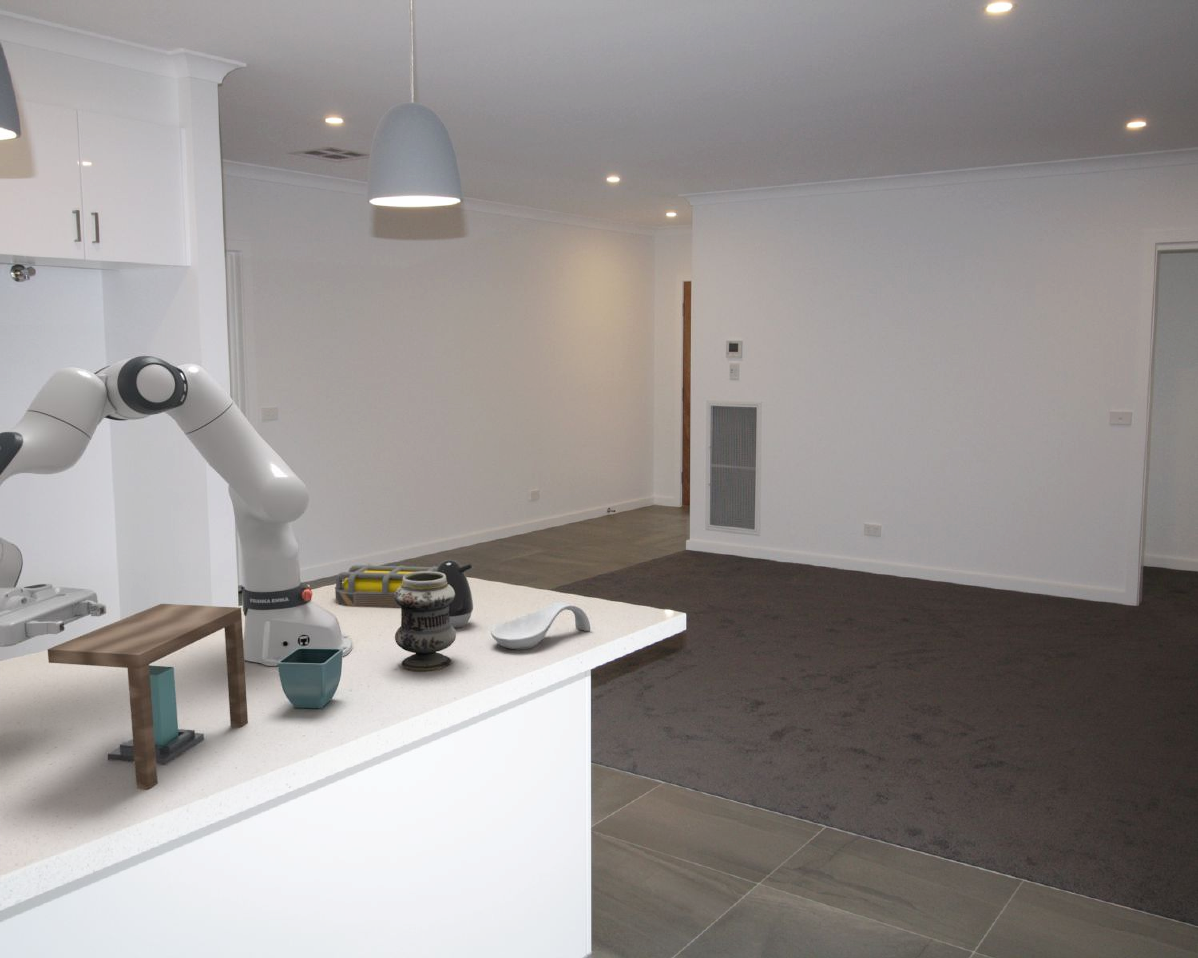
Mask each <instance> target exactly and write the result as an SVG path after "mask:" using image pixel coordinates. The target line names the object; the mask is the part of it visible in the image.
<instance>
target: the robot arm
mask: <svg viewBox="0 0 1198 958" xmlns="http://www.w3.org/2000/svg"><path fill="white" fill-rule="evenodd" d="M161 413H165V414H167V415H168V416H170V417H171V419H173V420H174V421H175V423H176V424H177V426H178V427H179V428H180V429H181V431H182V432H183V433H184V434H185V437H187V438H188V440H189V441H190V442H191V443H192V445H193V446H194V447H195V449H196V450H197V451H198V453H199V454H200V456H202V458H203V459H204V460H205V461H206V462H207V464H208V465H209V467H211V468H212V469H213V470H214V471H215V472H216V473H217V474H218V475H219V476H220V477H221V478H222V479H223V480H224V481H225V482H226V483H227V484H228V489H227V490H228V496H229V497H230V500H231V503H232V507H233V513H234V519H235V524H236V525H235V526H236V530H237V534H238V537H239V541H240V542H239V543H240V547H241V555H242V570H243V588H242V590H241V591H242V593H241V603H242V612H243V615H244V629H243V648H244V661H247V662H251V663H259V664H262V665H265V666H267V667H273V666H274V667H276V666H277V662H278V661H280V660H281V659H283V658H284V657H286V656H287V655H288V654H290V653H291V652H292V651H294V650H295V649H297V648H333V649H334V648H335V649H343V655H342V657H344V656H347V655H348V654H349V653H351V651H352V649H353V646H354V645H353V640H352V637H350V636H349V635H346V634H344V633H342V630H341V629H342V628H341V626H340V622H339V620H338V618H337V617H336V615H335V614H333V613H332V612H330V611H329V610H327V609H326V608H324V607H322V606H321V605H319V604H317V603H316V602H315V601H313V600H312V599H313V598H312V597H313V591H312V588H311V586H310V584H305V583H303V582H301V565H300V550H299V549H300V548H299V544H298V542H297V540H296V537H295V534H294V530H293V527H292V522H294V521H296V520H298V519H299V518H300V517H302V516H303V515H304V513H305V512H306V511H307V508H308V506H309V503H310V502H309V501H310V496H309V490H308V488H307V486H306V485H305V483H304V482H303V481H302V480H301V478H299V476H298V475H296V473H295V472H294V471H293V470H292V469H291V467H289V465H288V464H287V463H286V462H285V461H284V459H282V458H281V457H282V456H280V455H279V454H278V453H277V452H276V451H275V450H274V449H273V448H272V447H271V446H270V445H269V444H268V442H267V441H265V440H264V438H262V437H263V436H261V435H260V433H258V432H257V431H256V429H255V428H254V426H253V425H252V424H251V423H250V421H249V419H248V418H247V417H246V416H245V414H244V413H243V412H242V411H241V410H240V408H239V407H238V405H237V403H235V401H234V400H233V398H232V397H231V396H230V395H229V394H228V392H227V391H226V389H224V388H223V386H222V385H221V384H220V383H219V382H218V381H217V380H216V379H215V378H214V377H213V376H212V375H211V373H209V372H208V371H207V370H206V369H204V368H203V367H202V366H201V365H198V364H195V363H184V364H180V365H177V366H174V365H173V364H170V363H169V362H168V361H166V360H163V359H162V358H159V357H155V356H152V355H149V356H148V355H141V356H135V357H129V358H124V359H121V360H119V361H116V362H115V363H113V364H111V365H108V366H104V367H103V368H101V369H99V370H98V371H96V372H94V373H93V372H91V371H90V370H88V369H84V368H82V367H75V366H67V367H62V368H59V369H58V370H56V372H54V373H53V375H51V376H50V378H49V379H48V380H46V382H45V383H44V385H43V386H42V387H41V388H40V390H39V391H38V392H37V394H36V396H35V397H34V399H33V400H32V402H31V403H29V406H28V408H27V409H26V412H25V413H24V414H23V416H22V418H21V419H20V420H19V422H17V423H16V424H15V425H14V426H13V427H12V428H11V429H10V430H8V431H4V432H0V487H1V485H2V484H3V483H4V482H5V481H7V480H8V479H10V477H11V478H12V477H13V476H14V475H15V476H16V475H19V474H32V475H33V474H34V475H54V474H58V473H62V472H65V471H68V470H69V469H71V468H73V467H74V466H75V465H76V464H77V463H78V461H80V459H82V456H83V454H84V453H85V451H86V449H87V447H88V446H89V445H90V444H89V443H90V442H91V440H92V439H93V435H94V434H95V433H96V430H97V428H98V426H99V425H100V424H101V422H102V421H103V420H104V419H108V420H114V421H121V422H122V421H129V420H130V421H131V420H132V421H133V420H141V419H145V418H148V417H150V416H152V415H159V414H161ZM23 563H24V562H23V555H22V551H21V550H20V549H19V547H18V546H17V545H16V544H13V543H11V542H10V541H8V540H6V539H4V538H2V537H0V647H1V648H4V647H12V646H16V645H18V644H21V643H23V642H27V641H29V640H31V639H32V638H33V639H34V638H36V637H38V636H39V637H40V636H44V635H58V634H59V633H62V632H65V629H66V628H65V625H68V624H70V623H72V622H76V621H78V620H79V619H83V618H85V617H87V616H89V615H90V616H91V617H101V616H103V615H105V614H106V613H107V607H106V604H105V603H98V594H97V592H96V591H94V590H92V589H89V588H80V587H79V588H77V587H66V586H65V587H64V586H63V587H61V586H59V587H58V586H57V587H54V586H53V584H51V583H40V584H34V585H29V586H23V587H17V585H18V582H19V580H20V576H21V574H22V571H23V565H24V564H23Z"/></svg>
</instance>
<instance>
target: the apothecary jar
mask: <svg viewBox="0 0 1198 958" xmlns="http://www.w3.org/2000/svg"><path fill="white" fill-rule="evenodd" d="M394 597H395V601H396V603H397V604H398V605H400V606H401V608H400V609H401V610H400V611H401V612H400V613H401V614H400V617H401V618H400V619H401V620H400V626H399V627H398V628H397V630H396V632H395V635H394V641H395V643H396V645H397V646H398V647H399V648H401V649H402V650H404V651H406V652H408V653H413V654H411V655H409V656H407V657H405V658H404V659H403V660H402V661H401V663H400V664H401V666H402V667H403V669H407V670H409V671H414V672H415V671H416V672H417V671H419V672H427V671H428V672H429V671H437V670H441V669H443V668H444V667H446V666H450V665H451V663H452V659H451V658H450V657H449V656H448V655H444V654H442V653H439V652H440V651H443V650H446V649H448V648H450V647H451V646H452V645H453V644H454V642H455V641H456V638H457V631H456V628H453V627H452V626H451V625H450V621H449V604H450V603H451V602H452V601H453V599H454V597H455V592H454V589H453V588H452V587H451V586H450V585H449V584H447V581H446V575H445V574H444V573H441V572H434V571H419V572H413V573H409V574H406V575H404V576H403V581H402V585H401V586H400V587H399V588H398V589H397V590H396V592H395V596H394Z"/></svg>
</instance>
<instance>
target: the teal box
mask: <svg viewBox="0 0 1198 958" xmlns="http://www.w3.org/2000/svg"><path fill="white" fill-rule="evenodd" d="M149 671H150V685H151V699H152V712H153V726H154V740H155V745H161V746H164V745H165V744H167V743H169V742H170V741H172V740H174V739H175V738H177V737H178V736H179V735H178V729H179V723H178V722H179V721H178V710H177V695H176V694H177V693H176V692H177V691H176V681H175V666H164V665H163V666H162V665H151V664H149Z"/></svg>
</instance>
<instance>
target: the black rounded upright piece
mask: <svg viewBox="0 0 1198 958" xmlns="http://www.w3.org/2000/svg"><path fill="white" fill-rule="evenodd" d="M437 567H438V568H437V569H436V571H435V572H441V573H444V574H445V575H446V581H447V584H449V585H450V586H451V587H452V588H453V589H454V592H455V597H454V599H453V601H452V602H451V603H450V604H449V621H450V625H451V626H452V627H453V628H454V629H458V628H461V627H463V626H465V625H466V624H467V623H468V622H469V621H470V619H471V617H472V613H473V611H474V600H473V595H472V591H471V587H470V583H469V580H468V578H467V576H466V574H465V572H467V571H469V570H472V569H473V565H472V564H471V563H468V564H465V565H462V566H461V565H460V563H459V562H457V561H456V560H453V559H446V560H443V561H441V562H440V563H439V565H438V566H437Z"/></svg>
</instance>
